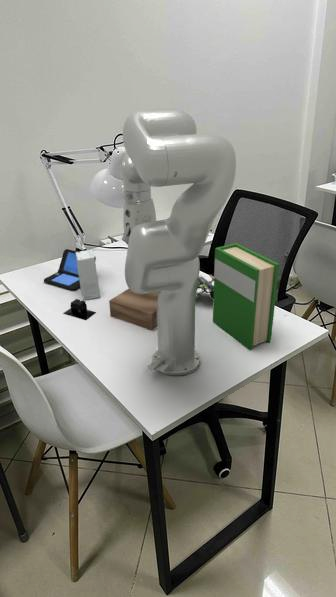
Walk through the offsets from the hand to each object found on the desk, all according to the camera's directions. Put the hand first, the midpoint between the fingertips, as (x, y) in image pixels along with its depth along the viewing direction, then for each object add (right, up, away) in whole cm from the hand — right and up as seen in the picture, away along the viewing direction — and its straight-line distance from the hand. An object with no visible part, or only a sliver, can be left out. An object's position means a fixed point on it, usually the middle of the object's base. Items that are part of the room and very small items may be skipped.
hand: (141, 255), depth 130 cm
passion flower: (+19, -14, +14) cm, 27 cm away
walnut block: (+1, -18, +8) cm, 19 cm away
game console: (-28, -7, +30) cm, 41 cm away
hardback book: (+29, -23, -4) cm, 37 cm away
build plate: (-20, -18, +8) cm, 28 cm away
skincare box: (-19, -12, +20) cm, 30 cm away
